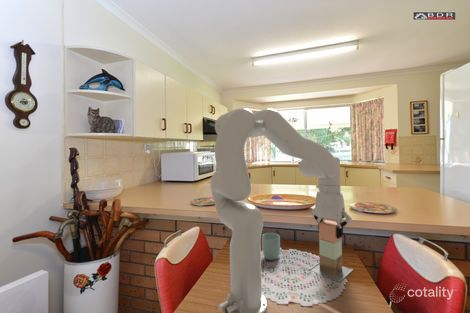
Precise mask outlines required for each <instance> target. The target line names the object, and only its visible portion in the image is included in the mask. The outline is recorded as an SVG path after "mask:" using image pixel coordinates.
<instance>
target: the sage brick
mask: <svg viewBox="0 0 470 313" xmlns="http://www.w3.org/2000/svg"><path fill="white" fill-rule="evenodd" d="M318 239H319V238H318ZM342 241H343V240H342V239H340V240H339V241H337V242H336V243H332V242H329V241H326V240H322V239H319V241H318V243H319V244H318V245H319V249H318V251H319V252H318V253H319V254H320V255H323V256H325V257H328V258H331V259H334V260H335V259H337V258H338V257H339V256H341V255H342V256H343V246H342V244H343V242H342ZM320 255H319V256H320Z"/></svg>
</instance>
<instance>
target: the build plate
mask: <svg viewBox="0 0 470 313" xmlns="http://www.w3.org/2000/svg"><path fill="white" fill-rule="evenodd" d="M308 271H311V272H313V273H315V274H318V275H321V276H323V277H325V278H328V279H329V280H332V281H334V282H336V283H342V281H344V279H346V278H347V277H348V276H349V275H350V274H351V273H352V272H353V271H354V269H353V268H348V267H346V266H343V265H342V271H340V272H339V273H338V274H337V275H336V276H334V275H332V274H329V273H327V272H324V271H322V270H320V260H319V261H318V262H317V263H314V264H313V265H312V266H311V267H309V268H308Z"/></svg>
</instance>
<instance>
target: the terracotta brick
mask: <svg viewBox="0 0 470 313" xmlns="http://www.w3.org/2000/svg"><path fill="white" fill-rule="evenodd" d="M337 228H338V225H337V223H336V221H333V220H329V219H324V220H323V222H321V223H319V230H318V239H322V240H326V241H329V242H332V243H336V242H337V241H339V240H340V239H342V238H343V236H342V237H341V238H339V239H338V238H337Z"/></svg>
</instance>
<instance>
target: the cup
mask: <svg viewBox="0 0 470 313" xmlns="http://www.w3.org/2000/svg"><path fill="white" fill-rule="evenodd" d="M261 245H262V247H261V248H262V254H263V257H264V258H265V259H266V260H267V259H268V261H276V260H278V259H279V257H280V253H281V252H280V251H281V237H280V235H279V234H278V233H275V232H266V233H263V234H261ZM277 258H278V259H277ZM275 259H276V260H275Z"/></svg>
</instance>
